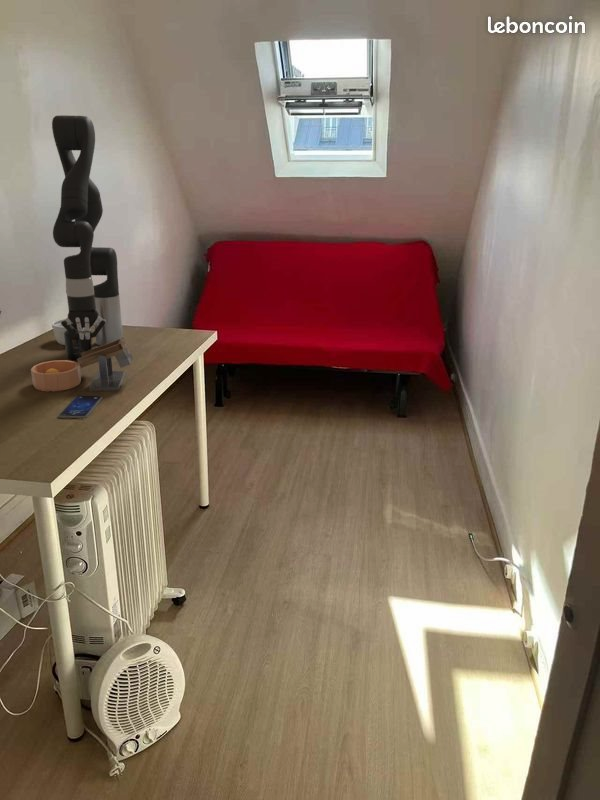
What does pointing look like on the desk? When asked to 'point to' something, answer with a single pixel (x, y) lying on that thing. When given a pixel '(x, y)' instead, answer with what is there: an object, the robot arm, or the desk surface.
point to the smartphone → (80, 407)
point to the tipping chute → (107, 353)
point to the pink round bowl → (56, 375)
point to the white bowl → (59, 331)
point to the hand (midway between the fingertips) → (87, 350)
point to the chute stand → (106, 376)
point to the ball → (52, 371)
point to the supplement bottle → (73, 345)
